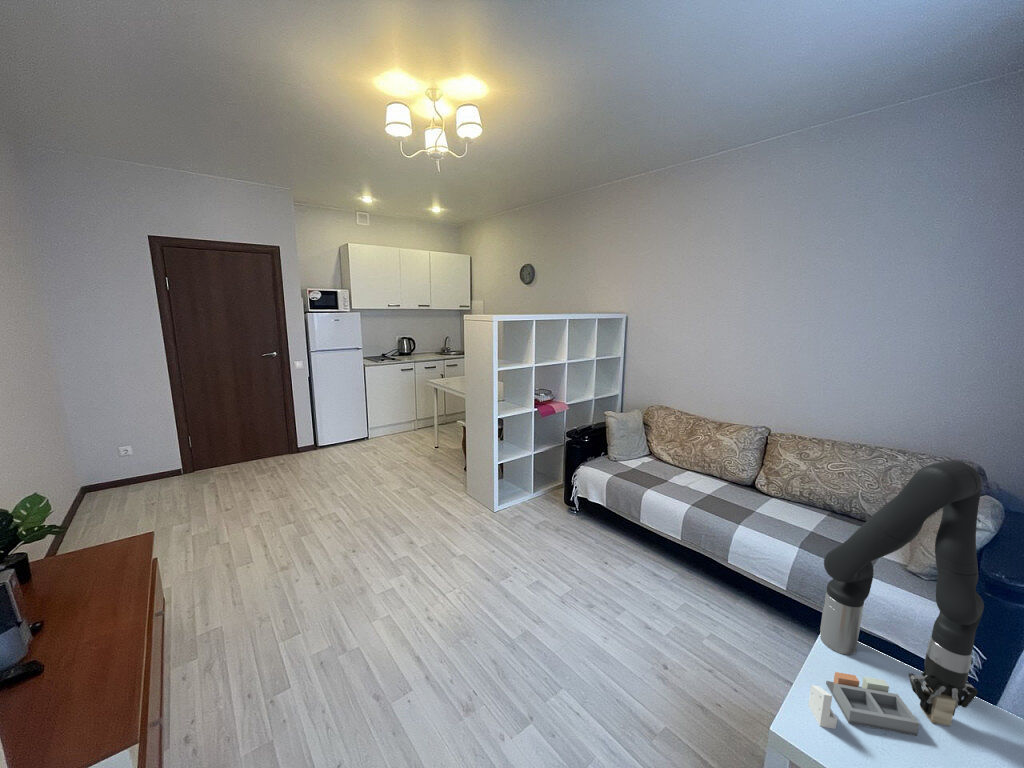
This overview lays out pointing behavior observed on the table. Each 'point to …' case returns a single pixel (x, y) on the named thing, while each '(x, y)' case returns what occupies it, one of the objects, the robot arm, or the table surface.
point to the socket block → (872, 704)
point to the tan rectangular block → (942, 709)
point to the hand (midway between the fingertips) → (935, 712)
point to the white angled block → (822, 707)
